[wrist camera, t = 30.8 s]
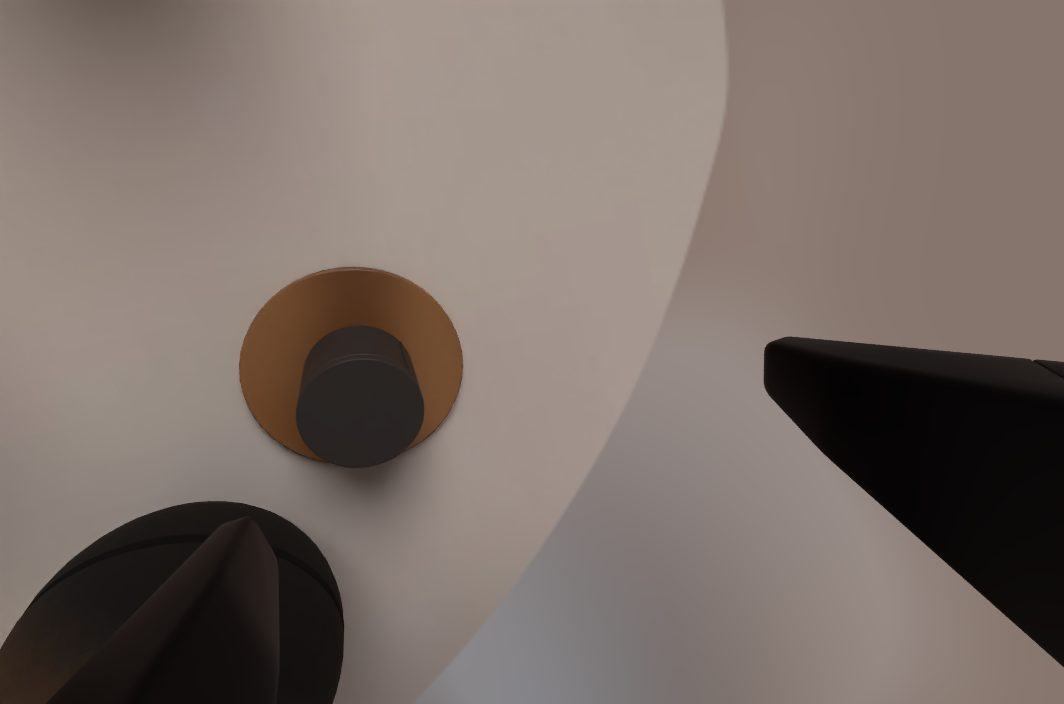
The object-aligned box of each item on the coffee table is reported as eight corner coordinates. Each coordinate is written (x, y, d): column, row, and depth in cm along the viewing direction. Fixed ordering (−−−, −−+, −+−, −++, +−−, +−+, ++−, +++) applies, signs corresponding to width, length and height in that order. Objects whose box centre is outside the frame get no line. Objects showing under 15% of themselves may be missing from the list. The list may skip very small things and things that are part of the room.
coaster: (433, 243, 19) (434, 244, 19) (479, 423, 23) (481, 427, 22) (201, 300, 18) (198, 303, 17) (289, 485, 21) (288, 492, 21)
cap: (363, 302, 19) (366, 332, 16) (434, 373, 21) (449, 411, 18) (278, 374, 19) (266, 418, 16) (358, 439, 21) (360, 488, 18)
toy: (16, 484, 18) (-305, 821, 9) (320, 427, 20) (303, 643, 12) (113, 672, 21) (-47, 1044, 13) (360, 603, 24) (370, 869, 15)
